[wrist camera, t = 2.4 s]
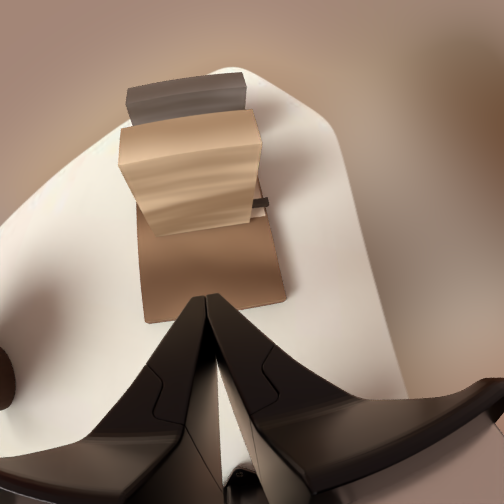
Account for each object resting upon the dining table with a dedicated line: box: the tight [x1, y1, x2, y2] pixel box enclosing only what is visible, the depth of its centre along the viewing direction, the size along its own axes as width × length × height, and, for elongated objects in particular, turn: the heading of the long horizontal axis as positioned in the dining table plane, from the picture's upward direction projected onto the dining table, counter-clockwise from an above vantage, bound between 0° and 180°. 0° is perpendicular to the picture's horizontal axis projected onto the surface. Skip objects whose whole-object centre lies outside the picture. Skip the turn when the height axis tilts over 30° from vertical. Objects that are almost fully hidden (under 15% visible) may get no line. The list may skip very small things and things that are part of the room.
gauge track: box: [126, 72, 286, 324], centre depth 21 cm, size 16×10×7 cm, turn 11°
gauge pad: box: [118, 109, 269, 237], centre depth 18 cm, size 2×9×9 cm, turn 101°
